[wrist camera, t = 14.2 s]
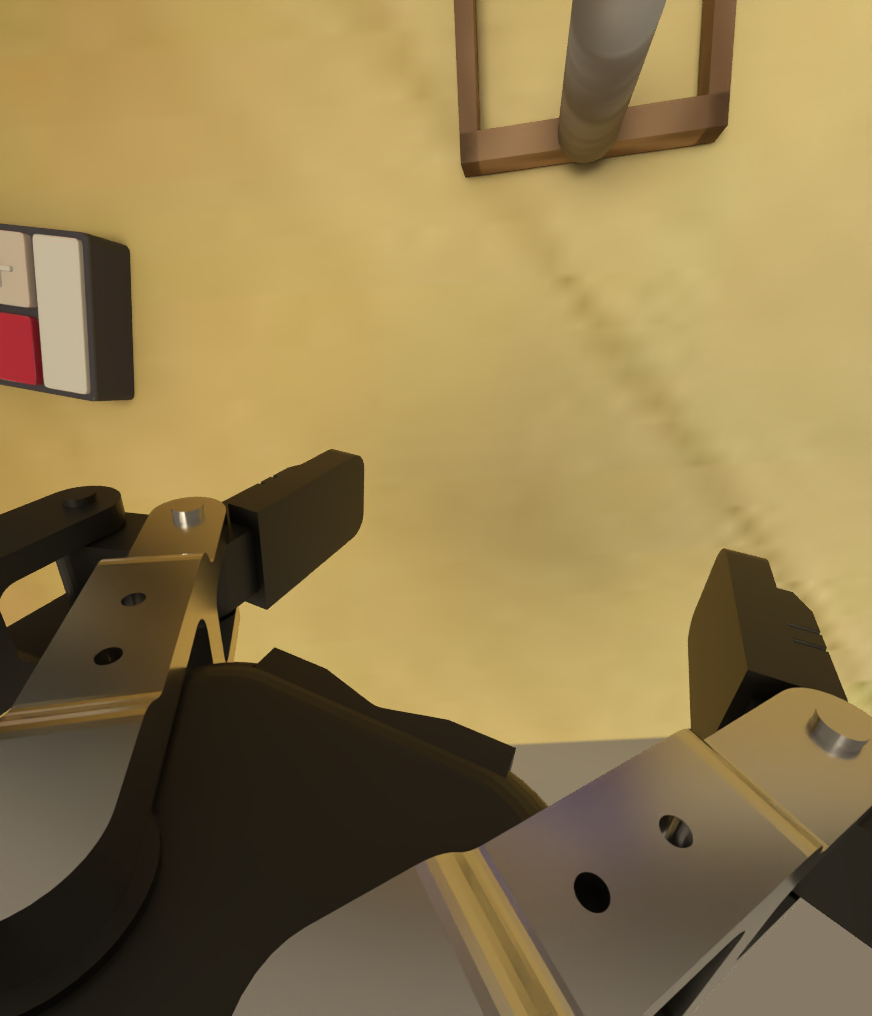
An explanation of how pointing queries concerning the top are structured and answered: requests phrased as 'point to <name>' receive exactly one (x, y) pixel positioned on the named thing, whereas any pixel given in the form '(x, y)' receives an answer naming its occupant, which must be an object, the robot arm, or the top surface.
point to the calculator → (65, 314)
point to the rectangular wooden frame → (599, 90)
